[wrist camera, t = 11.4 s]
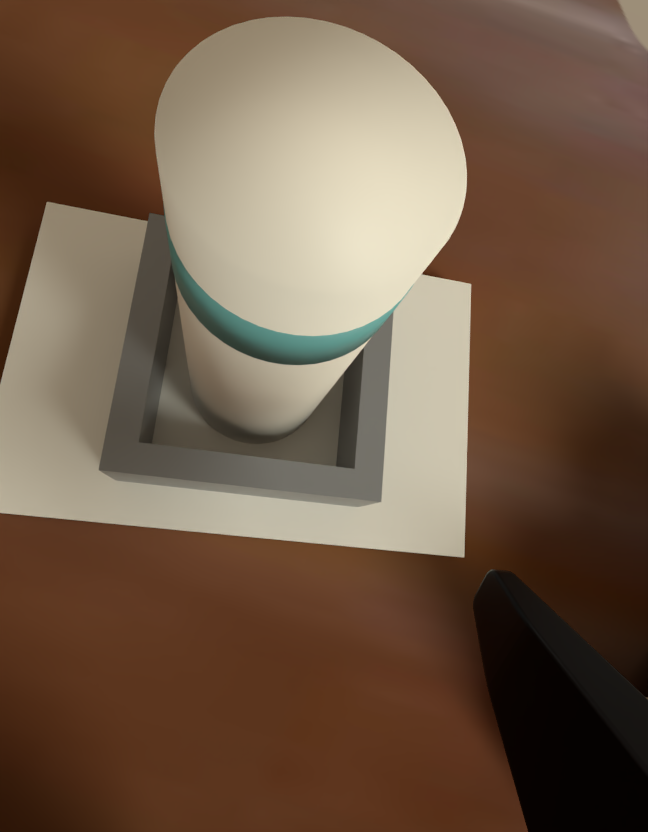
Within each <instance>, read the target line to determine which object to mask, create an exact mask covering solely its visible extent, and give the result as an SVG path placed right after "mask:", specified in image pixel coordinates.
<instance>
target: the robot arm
mask: <svg viewBox="0 0 648 832" xmlns="http://www.w3.org/2000/svg"><path fill="white" fill-rule="evenodd" d="M473 610H474V616H475V622H476V627H477V633H478V639H479V644H480V650H481V655H482V661H483V667H484V672H485V677H486V682H487V687H488V691H489V695H490V698H491V702H492V706H493V709H494V713H495V716H496V720H497V723H498V727H499V730H500V734H501V737H502V741H503V744H504V748H505V752H506V755H507V759H508V762H509V766H510V769H511V773H512V776H513V780H514V783H515V787H516V790H517V794H518V797H519V801H520V804H521V808H522V812H523V815H524V819H525V822H526V826H527V829H528V832H648V699H647V698H646V697H645V696H644V695H643V694H642V693H641V692H640V691H638V690H637V689H636V688H635V687H634V686H633V685H632V684H631V683H630V682H629V681H628V680H627V679H626V678H625V677H624V676H622V675H621V674H620V673H619V672H618V671H617V670H616V669H615V668H614V667H613V666H612V665H611V664H610V663H609V662H608V661H606V660H605V659H604V658H603V657H602V656H601V655H600V654H599V653H598V652H597V651H596V650H595V649H594V648H593V647H592V646H590V645H589V644H588V643H587V642H586V641H585V640H584V639H583V638H582V637H581V636H580V635H579V634H578V633H577V632H576V631H574V630H573V629H572V628H571V627H570V626H569V625H568V624H567V623H566V622H565V621H564V620H563V619H562V618H561V617H560V616H558V615H557V614H556V613H555V612H554V611H553V610H552V609H551V608H550V607H549V606H548V605H547V604H546V603H545V602H543V601H542V600H541V599H540V598H539V597H538V596H537V595H536V594H535V593H534V592H533V591H532V590H531V589H530V588H529V587H527V586H526V585H525V584H524V583H523V582H522V581H521V580H520V579H519V578H518V577H517V576H516V575H515V574H513V573H512V572H510V571H505V570H494V569H493V570H490V571H489V572H487V574H486V576H485V578H484V579H483V581H482V583H481V585H480V587H479V589H478V591H477V593H476V595H475V597H474V601H473Z"/></svg>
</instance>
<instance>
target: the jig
mask: <svg viewBox="0 0 648 832" xmlns="http://www.w3.org/2000/svg"><path fill="white" fill-rule="evenodd" d="M470 308H471V284H468V283H463V282H458V281H453V280H447V279H442V278H437V277H432V276H427V275H422V274H421V275H420V277H419V278H418V279H417V280H416V282H415V283H414V285H413V287H412V288H411V289H410V291H409V292H408V293H407V295H406V296H405V297H404V299H403V300H402V301H401V302H400V304H399V305H398V306H397V307H396V309H395V310H394V311H393V312H392V314H391V315H390V316H389V317H388V319H387V320H386V321H385V322H384V324H383V325H382V326H381V328H380V329H379V330H378V331H377V332H376V333H375V334H374V335H373V336H372V337H371V339H370V340H369V341H368V342H367V344H366V345H365V346H364V348H363V349H362V350H361V351H360V353H359V354H358V355H357V356H356V358H355V359H354V360H353V362H352V363H351V364H350V365H349V367H348V368H347V369H346V370H345V372H344V373H343V374H342V375H341V377H340V378H339V379H338V381H337V382H336V383H335V384H334V386H333V387H332V388H331V389H330V391H329V392H328V393H327V394H326V396H325V397H324V398H323V400H322V401H321V402H320V403H319V405H318V406H317V407H316V408H315V410H314V411H313V412H312V414H311V415H310V416H309V417H308V419H307V420H306V421H305V422H304V424H303V425H302V426H301V427H300V428H299V429H297V430H296V431H295V432H293V433H292V434H290V435H289V436H287V437H285V438H283V439H280V440H278V441H275V442H271V443H265V444H248V443H242V442H238V441H235V440H232V439H230V438H227V437H225V436H224V435H222V434H220V433H219V432H217V431H216V430H215V429H213V428H212V427H211V426H210V425H209V424H208V423H207V422H206V421H205V419H204V418H203V417H202V415H201V414H200V412H199V410H198V409H197V407H196V404H195V402H194V399H193V395H192V391H191V384H190V377H189V371H188V364H187V357H186V351H185V344H184V337H183V330H182V324H181V317H180V310H179V304H178V297H177V290H176V283H175V277H174V272H173V268H172V263H171V257H170V250H169V244H168V237H167V231H166V224H165V216H163V215H158V214H153V213H149V218H148V221H144V220H139V219H133V218H128V217H123V216H118V215H113V214H108V213H102V212H97V211H92V210H87V209H82V208H77V207H72V206H66V205H61V204H56V203H51V202H47V203H46V207H45V211H44V215H43V219H42V223H41V227H40V231H39V234H38V238H37V242H36V246H35V250H34V254H33V258H32V262H31V266H30V270H29V274H28V277H27V281H26V285H25V289H24V293H23V297H22V301H21V305H20V309H19V313H18V317H17V320H16V324H15V328H14V332H13V336H12V340H11V344H10V348H9V352H8V356H7V359H6V363H5V367H4V371H3V375H2V379H1V383H0V513H5V514H16V515H26V516H36V517H47V518H57V519H68V520H78V521H88V522H99V523H109V524H119V525H130V526H140V527H151V528H161V529H171V530H182V531H192V532H202V533H213V534H223V535H234V536H244V537H254V538H265V539H275V540H285V541H296V542H306V543H317V544H327V545H337V546H348V547H358V548H368V549H379V550H389V551H400V552H410V553H420V554H431V555H441V556H451V557H464V551H465V511H466V470H467V430H468V389H469V348H470Z"/></svg>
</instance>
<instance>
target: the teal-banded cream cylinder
mask: <svg viewBox="0 0 648 832" xmlns="http://www.w3.org/2000/svg"><path fill="white" fill-rule="evenodd" d="M154 136H155V146H156V156H157V162H158V169H159V176H160V183H161V189H162V196H163V203H164V215H165V224H166V231H167V237H168V244H169V250H170V257H171V263H172V268H173V272H174V277H175V283H176V290H177V297H178V304H179V310H180V317H181V324H182V330H183V337H184V344H185V351H186V357H187V364H188V371H189V377H190V384H191V391H192V395H193V399H194V402H195V404H196V407H197V409H198V410H199V412H200V414H201V415H202V417H203V418H204V419H205V421H206V422H207V423H208V424H209V425H210V426H211V427H212V428H213V429H215V430H216V431H217V432H219V433H220V434H222V435H224V436H225V437H227V438H230V439H232V440H235V441H238V442H242V443H248V444H265V443H271V442H275V441H278V440H280V439H283V438H285V437H287V436H289V435H290V434H292V433H293V432H295V431H296V430H297V429H299V428H300V427H301V426H302V425H303V424H304V422H305V421H306V420H307V419H308V417H309V416H310V415H311V414H312V412H313V411H314V410H315V408H316V407H317V406H318V405H319V403H320V402H321V401H322V400H323V398H324V397H325V396H326V394H327V393H328V392H329V391H330V389H331V388H332V387H333V386H334V384H335V383H336V382H337V381H338V379H339V378H340V377H341V375H342V374H343V373H344V372H345V370H346V369H347V368H348V367H349V365H350V364H351V363H352V362H353V360H354V359H355V358H356V356H357V355H358V354H359V353H360V351H361V350H362V349H363V348H364V346H365V345H366V344H367V342H368V341H369V340H370V339H371V337H372V336H373V335H374V334H375V333H376V332H377V331H378V330H379V329H380V328H381V326H382V325H383V324H384V322H385V321H386V320H387V319H388V317H389V316H390V315H391V314H392V312H393V311H394V310H395V309H396V307H397V306H398V305H399V304H400V302H401V301H402V300H403V299H404V297H405V296H406V295H407V293H408V292H409V291H410V289H411V288H412V287H413V285H414V283H415V282H416V280H417V279H418V278H419V277H420V275H421V274H422V273H423V271H424V270H425V269H426V268H427V266H428V265H429V264H430V263H431V261H432V260H433V259H434V258H435V256H436V255H437V254H438V252H439V251H440V250H441V249H442V247H443V246H444V245H445V243H446V242H447V241H448V239H449V238H450V236H451V234H452V233H453V231H454V229H455V227H456V225H457V223H458V220H459V218H460V215H461V212H462V209H463V205H464V200H465V195H466V185H467V170H466V159H465V154H464V150H463V145H462V141H461V138H460V136H459V133H458V130H457V127H456V125H455V123H454V121H453V119H452V117H451V115H450V113H449V111H448V109H447V107H446V106H445V104H444V103H443V101H442V100H441V98H440V97H439V95H438V94H437V92H436V91H435V90H434V89H433V87H432V86H431V85H430V84H429V83H428V81H427V80H426V79H425V78H424V77H423V76H422V75H421V74H420V73H419V72H418V71H417V70H416V69H415V68H414V67H413V66H412V65H411V64H409V63H408V62H407V61H406V60H404V59H403V58H402V57H401V56H399V55H398V54H397V53H395V52H394V51H392V50H391V49H389V48H388V47H386V46H384V45H383V44H381V43H380V42H378V41H376V40H374V39H372V38H370V37H368V36H366V35H364V34H362V33H359V32H357V31H354V30H352V29H349V28H347V27H344V26H341V25H337V24H334V23H330V22H327V21H321V20H316V19H310V18H300V17H269V18H262V19H256V20H250V21H247V22H243V23H240V24H236V25H233V26H230V27H228V28H226V29H224V30H221V31H219V32H217V33H215V34H213V35H212V36H210V37H208V38H207V39H205V40H204V41H202V42H200V43H199V44H198V45H197V46H196V47H194V48H193V49H192V50H191V51H190V52H189V53H187V54H186V56H185V57H184V58H183V59H182V60H181V61H180V63H179V64H178V65H177V66H176V67H175V69H174V70H173V72H172V74H171V75H170V77H169V79H168V80H167V82H166V84H165V87H164V89H163V91H162V94H161V96H160V99H159V103H158V108H157V112H156V117H155V134H154Z"/></svg>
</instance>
